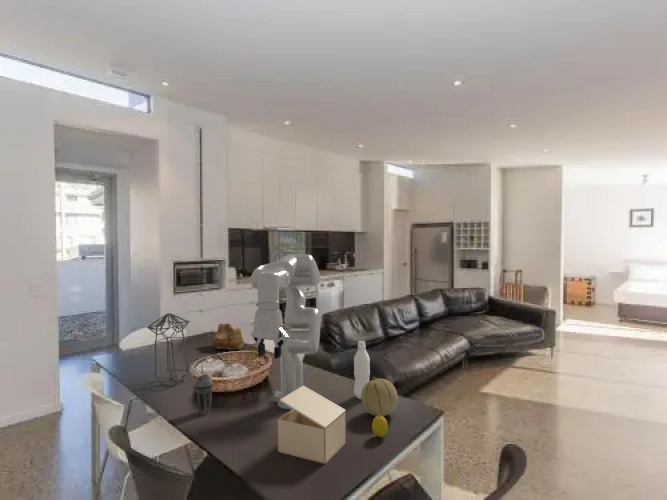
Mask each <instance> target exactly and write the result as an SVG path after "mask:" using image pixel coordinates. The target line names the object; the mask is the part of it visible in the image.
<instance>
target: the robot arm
mask: <svg viewBox="0 0 667 500" xmlns="http://www.w3.org/2000/svg"><path fill="white" fill-rule="evenodd" d="M320 280H321V275H320V271H319V268H318V265H317V263H316V260H315V258H314V257H313V256H312V255H311V254H309V253H307V254H306V253H305V254H304V253H303V254H300V253H299V254H297V253H295V254H293V253H292V254H287V255H284V257H282V258H281V259H279V260H277V261H274V262H270V263H266V264H262V265H260V266H258V267H257V268H255V269H254V270H253V271H252V274H251V276H250V283H251V286H252V287H253V288H254V289H255V290H257V302H255V306H256V307H257V309H256V310H255V313H254V319H253V320H254V321H253V330H252V331H251V332H250V336H251V337H252V339H253V340H254V341H255V343H256V345H257V353H258V357H263V356H265V355H266V344H265V341H266V340H267V341H273V343H274V347H273V352H274V353H273V358H274V359H280V360H279V361H280V391H278V390H276V391H275V392H274V396H273V397H274V398H277V399H278V400H277V406H278V407H279V408H280V409H283V410H293V409H292V408H290V407H289V406H287V405H285V404H284V403H282V402H280V399H282V398H284V397H285V396H287V395H289V394H290V393H292V392H293V391H295V390H297V389H298V388H300V387H302V386H303V385H304V365H303V361H302V358H301V357H300V355H301V354H303V355H313V354H316V353H317V352H318V351H319V346H320V337H321V326H322V325H321V323H322V322H321V321H322V318H321V317H322V316H321V312H320V310H319V309H318V308H317V307H306V302H307V301H306V300H307V299H306V298H307V297H306V295H305V294H304V293H303V292H302V290H301V289H300V288H299V287H308V288H309V287H310V288H311V287H312V288H313V287H316V286H318V285H319V283H320ZM281 290H284V291H285V295H286V305H285V313H284V322H283V314H282V311H281V309H280V291H281ZM284 325H285V327H286V328H288V329H290V330H284Z"/></svg>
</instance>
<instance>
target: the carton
mask: <svg viewBox="0 0 667 500" xmlns="http://www.w3.org/2000/svg"><path fill="white" fill-rule="evenodd" d="M276 425H277V453H280V454H284V455H288V456H293V457H296V458H301V459H304V460H308V461H312V462H316V463H320V464H324V465H326V464H327V463H328V462H329V461H330V460H332V458H333V457H334V456H336V454H337V453H338V452H339V451H340V450H341V449H342V448H343V447H344V446H345V445H346V444H347V436H346V435H347V433H346V432H347V431H346V428H347V427H346V411H345V412H344V413H343V414H342V415H341V416H339V417H338V418H337V419H336V420H335V421H334V422H332V423H331V424H330V425H329V426H328V427H326V428H325V429H324V428H323V427H321V426H320V425H318V424H316V423H315V422H313V421H311V420H310V419H308V418H306V417H305V416H303V415H302V414H300V413H298V412H297V411H295V410H293V409H290V411H288V412H287V413H285V414H284V415H282V416H281V417H279V418H278V419H277V424H276Z"/></svg>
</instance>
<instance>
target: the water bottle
mask: <svg viewBox="0 0 667 500" xmlns="http://www.w3.org/2000/svg"><path fill="white" fill-rule="evenodd" d="M366 347H367V346H366V341H365V340H358V344H357V351H356V353H355V355H354V357H353V366H354V370H353V374H354V388H353V392H354V396H355V397H356V398H357V399H358V400H362V399H361V394H362V389H363V387H364V386H365V384H366V383H367V382H369V381H370V374H371V371H370V370H371V369H370V368H371V365H370V364H371V363H370V362H371V360H370V356H369V353H368V351H367V349H366Z"/></svg>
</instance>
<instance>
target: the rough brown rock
mask: <svg viewBox="0 0 667 500" xmlns="http://www.w3.org/2000/svg"><path fill="white" fill-rule="evenodd" d="M217 327H218V328H217V331H216V333H215V334H214V337H213V339H212V341H211V344H212V346H213V348H214V349H215V348H219V349H218V350H221V349H222V350H226V349H228V350H227V351H229V350H233V351H237V350H236V349H238V350H240V349H242V348H243V347H244V345H245V343H244V342H245V341H244V337H243V332H242V329H241V328H239V327H237V328H234V327H233V326H232V325H231V323H228V322H227V323H219V324H218V326H217Z"/></svg>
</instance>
